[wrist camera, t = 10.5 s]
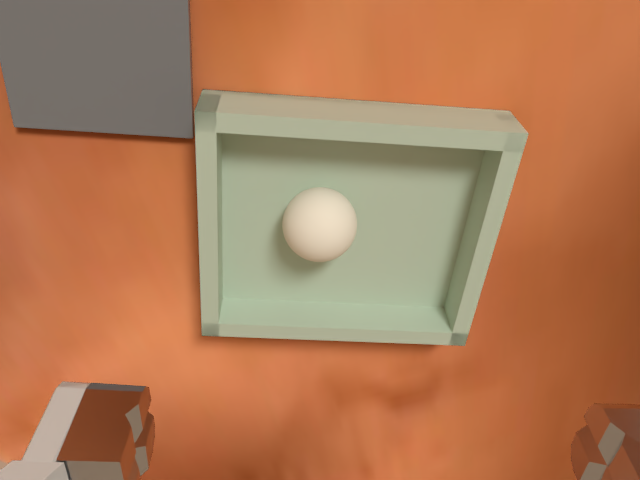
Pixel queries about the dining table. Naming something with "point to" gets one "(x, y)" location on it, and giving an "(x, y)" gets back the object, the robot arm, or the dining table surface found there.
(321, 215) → the ball
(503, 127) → the tray
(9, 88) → the coaster
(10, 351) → the dining table surface
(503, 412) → the dining table surface
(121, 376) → the dining table surface
